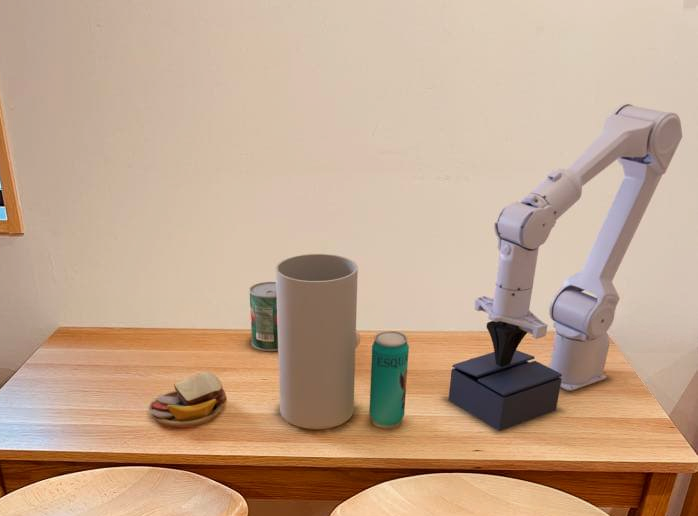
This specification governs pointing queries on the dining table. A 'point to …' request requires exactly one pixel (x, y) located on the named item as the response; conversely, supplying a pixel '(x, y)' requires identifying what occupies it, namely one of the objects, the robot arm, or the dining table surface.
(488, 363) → the flap
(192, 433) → the dining table surface
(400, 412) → the beverage can
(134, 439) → the dining table surface
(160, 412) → the toy sandwich meal
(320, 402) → the cylinder vase
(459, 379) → the carton
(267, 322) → the canned tomato
